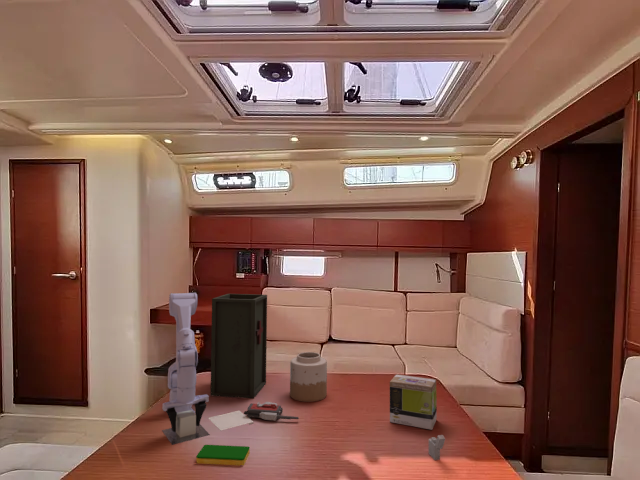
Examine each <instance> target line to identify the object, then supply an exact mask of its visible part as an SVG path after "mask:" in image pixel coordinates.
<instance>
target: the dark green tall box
mask: <svg viewBox="0 0 640 480" xmlns="http://www.w3.org/2000/svg"><path fill="white" fill-rule="evenodd" d="M267 322H268V294H258V293H257V294H249V293H226V294H223V295H219V296H217V297H213V298H211V332H210V333H211V334H210V335H211V337H210V338H211V339H210V340H211V342H210V343H211V344H210V347H211V348H210V350H211V351H210V397H219V398H221V397H224V398H238V399H239V398H240V399H255V398H256V397H257V395H259V393H260V392H261V391H262V389H263V388H264V387H265V386H266V384H267V348H268V347H267V346H268V345H267V339H268V338H267V337H268V336H267V333H268V330H267V328H268V323H267ZM264 385H265V386H264Z"/></svg>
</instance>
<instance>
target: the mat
mask: <svg viewBox="0 0 640 480" xmlns="http://www.w3.org/2000/svg"><path fill="white" fill-rule="evenodd" d="M208 420H209V421H210V422H211V423H212V424H213V425H214V426H215V427H216V428H217V429H218V430H219V431H221V432H222V431H224V430H229V429H231V428H237V427H240V426H244V425H252V424H254V423H255V422H254V421H253V420H252V419H251V418H250V417H248V416H247V415H246V414H244V412H242V411H241V410H236V411H231V412H227V413H224V414H220V415H219V414H218V415H214V416H210V417H208Z"/></svg>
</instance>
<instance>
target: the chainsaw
mask: <svg viewBox="0 0 640 480" xmlns="http://www.w3.org/2000/svg"><path fill="white" fill-rule="evenodd" d="M283 410H284V409H283V407H282V405H279V404H278V403H277V402H273V401H265V402H263V403H261V402H259V401H258V402H257V403H250V404H249V405H248V406H247V410H245V411H244V412H243V414H244V415H246V416H247V417H248V418H255V419H256V418H257V419H262V420H265V421H274V422H275V421H277V420H299V419H300V418H299V416H291V415H281V414H283Z"/></svg>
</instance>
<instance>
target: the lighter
mask: <svg viewBox="0 0 640 480" xmlns="http://www.w3.org/2000/svg"><path fill="white" fill-rule="evenodd" d="M445 441H446V438H445V436H444V435H443V434H438V435H437V437H434V436H432V437H430V438H428V455H430V457H431V458H432V459H433V460H434V461H439V460H440V459H441V450H442V449H443V447H444V445H445Z"/></svg>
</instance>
